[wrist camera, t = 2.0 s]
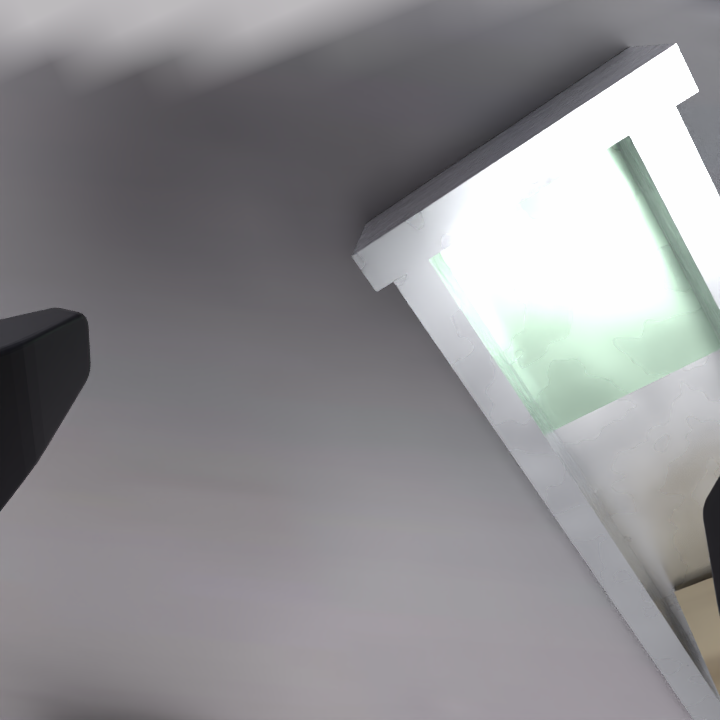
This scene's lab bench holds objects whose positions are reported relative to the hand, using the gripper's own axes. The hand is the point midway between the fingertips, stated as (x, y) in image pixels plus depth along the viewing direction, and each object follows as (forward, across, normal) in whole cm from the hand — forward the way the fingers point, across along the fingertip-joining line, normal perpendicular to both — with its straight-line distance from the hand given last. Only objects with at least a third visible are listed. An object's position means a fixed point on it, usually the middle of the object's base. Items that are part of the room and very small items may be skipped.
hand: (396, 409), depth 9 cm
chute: (+13, -11, +8) cm, 19 cm away
